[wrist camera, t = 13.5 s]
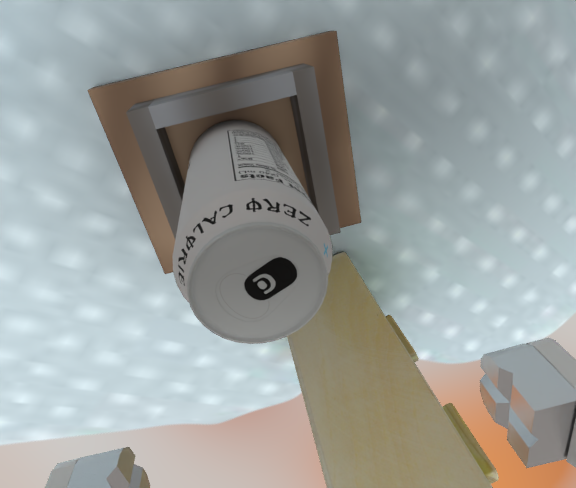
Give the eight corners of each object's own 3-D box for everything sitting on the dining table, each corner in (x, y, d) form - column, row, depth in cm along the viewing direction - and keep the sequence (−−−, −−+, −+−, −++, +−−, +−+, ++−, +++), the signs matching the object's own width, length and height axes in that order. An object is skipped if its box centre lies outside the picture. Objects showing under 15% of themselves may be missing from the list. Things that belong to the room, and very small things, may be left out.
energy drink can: (169, 154, 26) (127, 279, 13) (245, 97, 25) (282, 168, 12) (228, 222, 29) (242, 381, 16) (298, 172, 28) (374, 296, 15)
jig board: (330, 30, 26) (351, 30, 22) (355, 214, 32) (375, 240, 28) (93, 87, 25) (72, 97, 21) (166, 263, 31) (160, 297, 27)
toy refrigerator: (384, 311, 37) (554, 588, 19) (311, 347, 38) (407, 650, 19) (353, 244, 33) (528, 508, 15) (273, 284, 34) (346, 588, 15)
